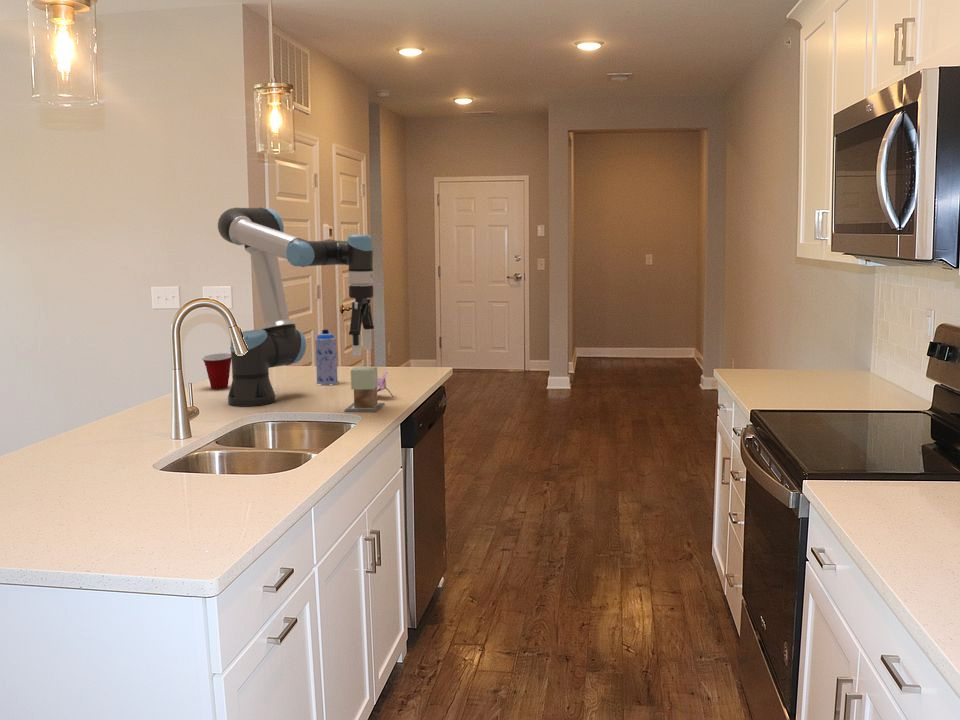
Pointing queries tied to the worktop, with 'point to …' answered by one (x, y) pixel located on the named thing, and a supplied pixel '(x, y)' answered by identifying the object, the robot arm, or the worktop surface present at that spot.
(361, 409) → the slate build plate
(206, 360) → the plastic cup
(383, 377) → the lily
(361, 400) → the walnut block
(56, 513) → the worktop surface
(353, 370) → the sage block
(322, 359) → the aerosol can
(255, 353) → the robot arm
